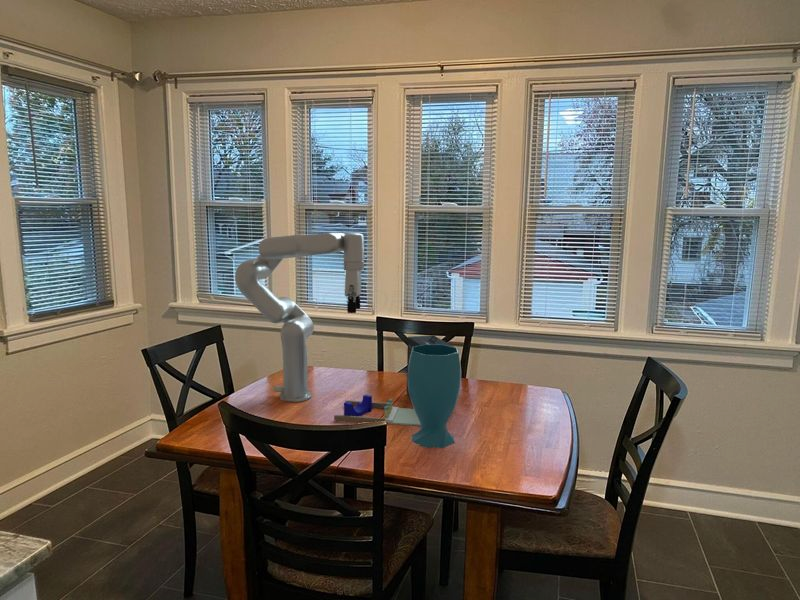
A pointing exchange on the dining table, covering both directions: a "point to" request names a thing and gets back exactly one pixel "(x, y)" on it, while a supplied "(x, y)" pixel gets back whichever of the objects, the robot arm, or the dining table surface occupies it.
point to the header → (390, 415)
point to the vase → (434, 391)
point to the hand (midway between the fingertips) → (353, 310)
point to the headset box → (421, 341)
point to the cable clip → (359, 407)
